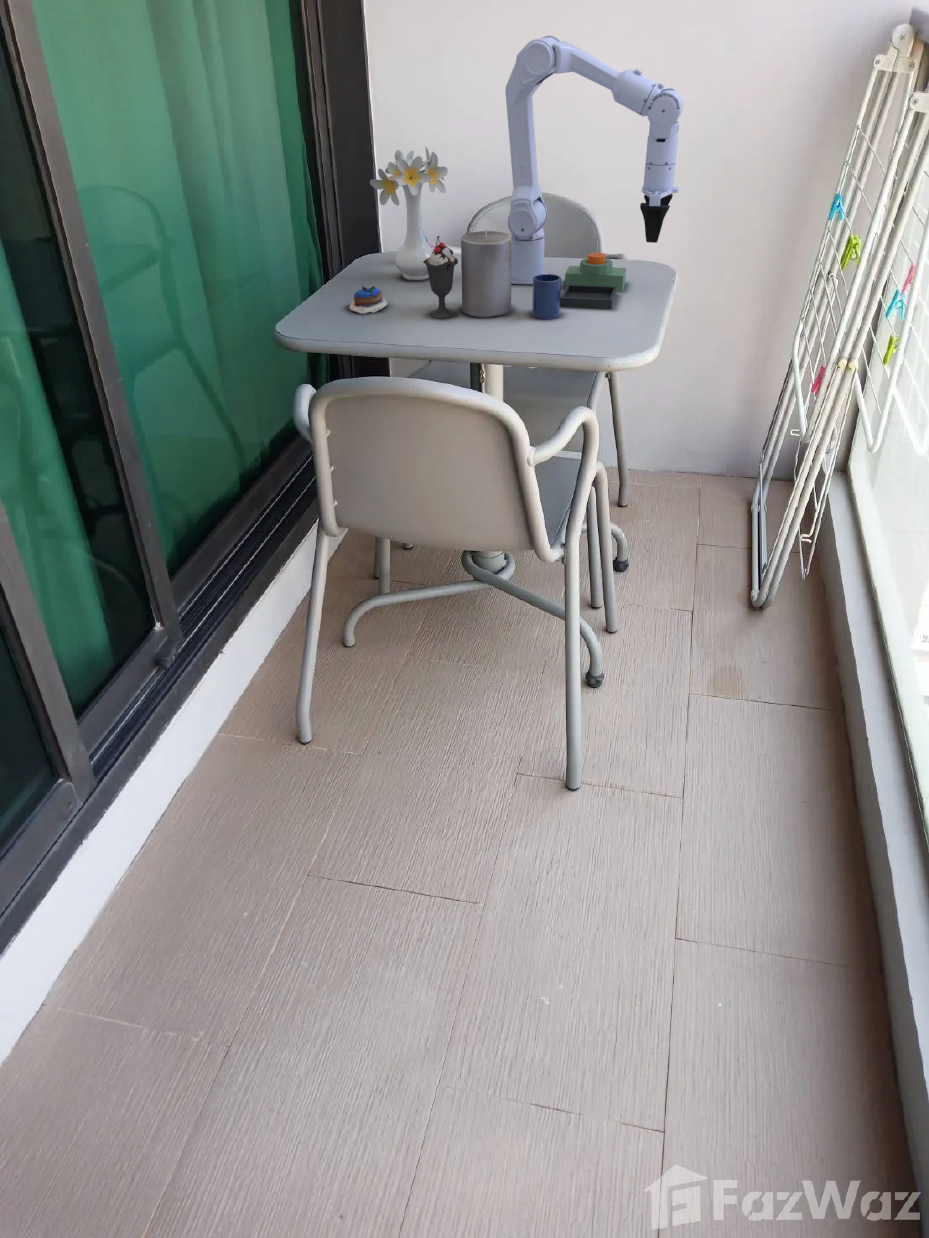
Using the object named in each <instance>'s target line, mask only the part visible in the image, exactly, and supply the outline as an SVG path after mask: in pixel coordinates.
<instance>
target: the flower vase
mask: <svg viewBox="0 0 929 1238" xmlns="http://www.w3.org/2000/svg"><path fill="white" fill-rule="evenodd" d="M424 148H425V155H426V160H423V157H422V156H421V155H417V156H415V150H410V151H409V152H408V153H407V154H406V156H405V155H404V153H403V151H402V150H400V149H396V150H395V152H394V160H395V161H393V162H392V161H390V162H388V163H387V167H386V168H385V169H384V170H385V171H384V170H383V169H382V168H378V169H377V173H378V177H379V179H375V178H374V179H370V181H369V184H370V186H371V187H372V188H373V189H375V190H378V191H379V190H380V191H381V192H380V194H379V204H380V205H381V206H385V205H387V203H388V201H389V199H390V200H391V202H392V203H393V204H394V205H395V206H397V207H398V206H400V200H399V196H398V194H397V190H398V189H399V187H402V189H403V193H404V198H405V204H406V234H405V239H404V242H403V245H402V246H400V247H401V249H400V248H399V249H400V250H399V249H398V251H397V253H396V255H395V258H394V259H395V260H394V264H395V266H396V268H397V269H398V270H399V272H400V273H402V277H403V278H404V279H405V280H408V281H424V280H427V279H428V280H429V275H428V270H427V266H426V264H425V263H423V261H425V260H426V259H427V258H429V257H430V256H431V254H432V252H433V249H432V248H431V247H430V246H429V245H428V243H427V241H426V239H425V237H424V235H425V233H424V234H423V231H424V230H423V222H422V220H423V219H422V209H421V198H422V197H421V196H422V190H423V189H422V188H423V186H424V184H426V183H427V184H428V188H429V192H430V193H434V192H435V189H436V188H437V189H438V191H439V192H440V193H442V194H445V193H446V187H445V184H444V183H443V181H445V177H446V176H447V175H448V172H449V169H448V168H447V167H446V166H439V158H438V155H437V153H435V152H434V151H431V154H430V151H429V149H428V147H427V146H426V145H425V147H424ZM414 156H415V157H414ZM423 168H424V169H423ZM421 169H422V170H421ZM388 175H390V176H388Z"/></svg>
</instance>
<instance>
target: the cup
mask: <svg viewBox="0 0 929 1238" xmlns="http://www.w3.org/2000/svg"><path fill="white" fill-rule="evenodd" d="M561 296H562V277H561V276H560V275H558V274H554V273H548V274H540V275H536V276H534V277H533V285H532V296H531V297H532V298H531V299H532V301H531V303H532V304H531V315H532V317H533V318H534V319H538V320H554V319H557V318H558V317H560V316H561V307H560V301H561Z"/></svg>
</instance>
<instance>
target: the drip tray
mask: <svg viewBox="0 0 929 1238" xmlns="http://www.w3.org/2000/svg"><path fill="white" fill-rule="evenodd" d="M617 293H618V291H617V287H610V286H587V285H567V286H566V288H565V287H564V290H563V292H562V293H561V301H560V308H575V309H595V310H613V307H614V304H615V301H616V299H617V295H618V294H617Z"/></svg>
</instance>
